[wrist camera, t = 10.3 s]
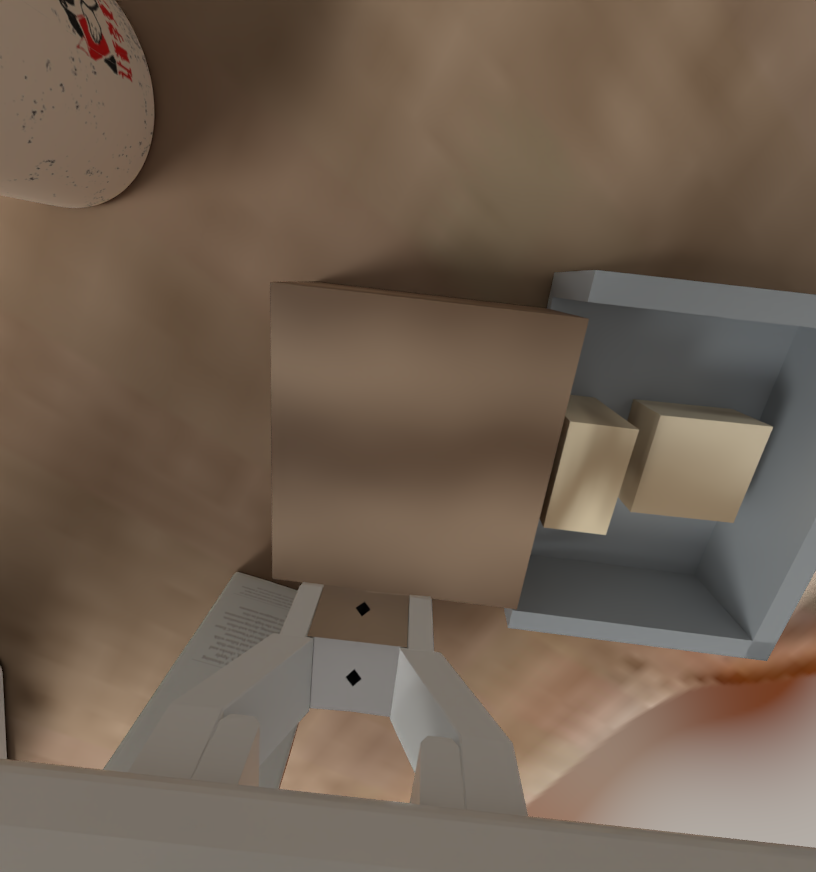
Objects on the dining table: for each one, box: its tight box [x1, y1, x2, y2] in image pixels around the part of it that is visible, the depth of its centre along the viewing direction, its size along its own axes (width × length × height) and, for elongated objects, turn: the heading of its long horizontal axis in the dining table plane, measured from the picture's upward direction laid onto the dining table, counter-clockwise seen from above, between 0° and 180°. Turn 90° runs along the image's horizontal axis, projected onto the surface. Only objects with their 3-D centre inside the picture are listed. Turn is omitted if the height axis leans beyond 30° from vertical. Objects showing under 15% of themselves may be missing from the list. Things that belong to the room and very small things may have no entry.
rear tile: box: [618, 399, 773, 523], centre depth 19 cm, size 4×4×2 cm
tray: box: [504, 270, 816, 661], centre depth 19 cm, size 15×12×5 cm
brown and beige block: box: [270, 282, 589, 610], centre depth 19 cm, size 12×10×6 cm
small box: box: [103, 572, 299, 789], centre depth 20 cm, size 8×6×13 cm
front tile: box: [539, 395, 639, 535], centre depth 18 cm, size 4×4×2 cm
